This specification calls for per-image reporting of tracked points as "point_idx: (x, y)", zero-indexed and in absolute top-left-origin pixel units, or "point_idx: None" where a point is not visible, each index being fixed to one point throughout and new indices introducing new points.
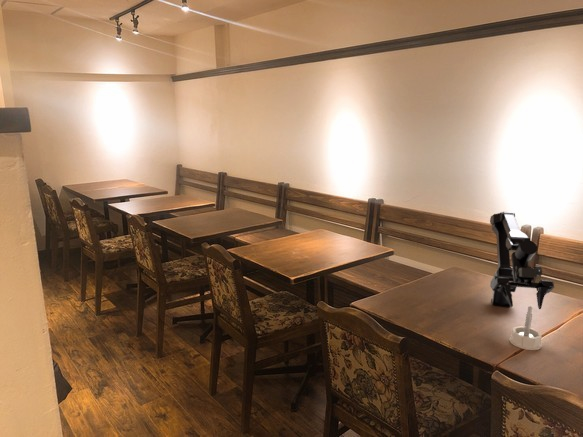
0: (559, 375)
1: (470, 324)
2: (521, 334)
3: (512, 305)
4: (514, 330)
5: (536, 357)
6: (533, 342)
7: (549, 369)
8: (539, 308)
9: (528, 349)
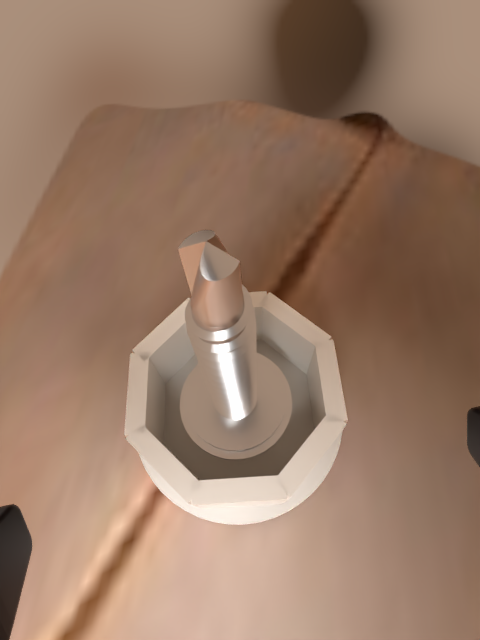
0: (128, 155)
1: None
2: (270, 390)
3: (477, 409)
4: (329, 378)
5: None
6: None
7: (158, 181)
8: (23, 523)
9: None
